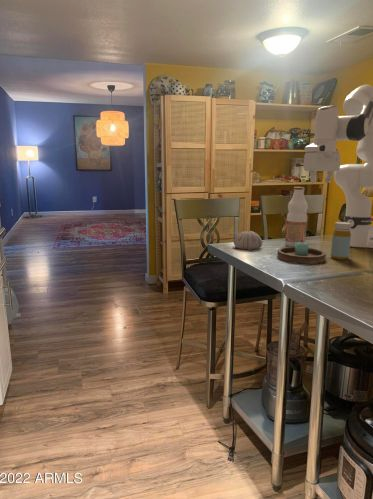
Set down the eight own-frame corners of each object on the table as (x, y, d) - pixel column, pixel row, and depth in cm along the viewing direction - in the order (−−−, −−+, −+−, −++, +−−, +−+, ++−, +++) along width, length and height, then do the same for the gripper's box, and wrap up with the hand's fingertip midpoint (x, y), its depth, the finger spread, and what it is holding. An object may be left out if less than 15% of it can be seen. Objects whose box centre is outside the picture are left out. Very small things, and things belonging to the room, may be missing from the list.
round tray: (296, 251, 173) (297, 245, 172) (334, 259, 158) (334, 253, 157) (268, 256, 162) (268, 250, 161) (305, 266, 147) (306, 259, 146)
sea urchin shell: (264, 251, 172) (265, 233, 170) (234, 250, 173) (234, 233, 171) (260, 245, 185) (261, 228, 183) (232, 244, 186) (233, 228, 184)
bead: (299, 254, 163) (300, 241, 162) (310, 256, 159) (311, 243, 158) (292, 255, 160) (292, 242, 159) (302, 258, 156) (303, 245, 155)
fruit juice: (292, 248, 179) (296, 187, 173) (281, 244, 188) (285, 186, 182) (309, 246, 182) (314, 187, 176) (297, 243, 191) (301, 186, 185)
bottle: (347, 260, 156) (351, 224, 153) (329, 258, 160) (332, 223, 156) (349, 257, 162) (353, 222, 159) (331, 255, 166) (335, 221, 162)
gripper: (332, 149, 163) (329, 181, 165) (301, 147, 151) (299, 182, 154) (345, 148, 158) (342, 182, 161) (315, 146, 146) (312, 183, 149)
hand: (321, 182), depth 157 cm, fingers open, 8 cm apart
